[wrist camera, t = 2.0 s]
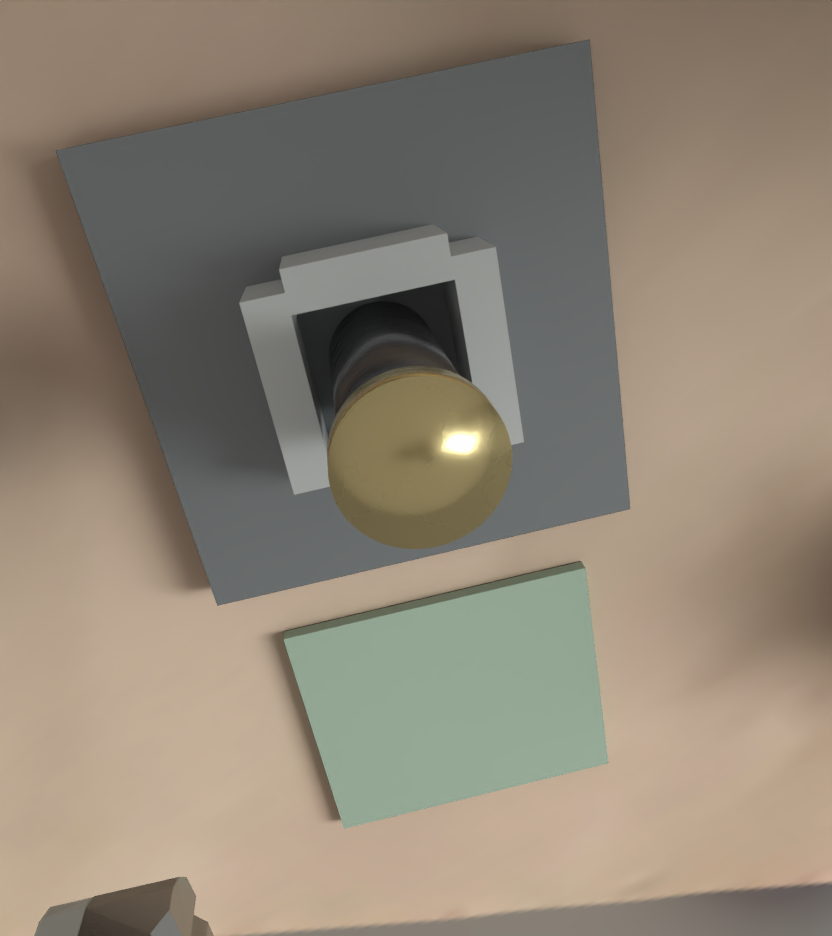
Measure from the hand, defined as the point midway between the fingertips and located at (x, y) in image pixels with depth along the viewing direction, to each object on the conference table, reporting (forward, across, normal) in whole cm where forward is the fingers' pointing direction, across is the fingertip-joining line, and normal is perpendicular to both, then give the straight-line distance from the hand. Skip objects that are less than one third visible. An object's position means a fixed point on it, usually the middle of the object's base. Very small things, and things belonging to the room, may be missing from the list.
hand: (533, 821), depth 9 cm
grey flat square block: (+23, 0, 0) cm, 23 cm away
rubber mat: (+23, 0, +18) cm, 30 cm away
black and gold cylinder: (+22, 0, 0) cm, 22 cm away
